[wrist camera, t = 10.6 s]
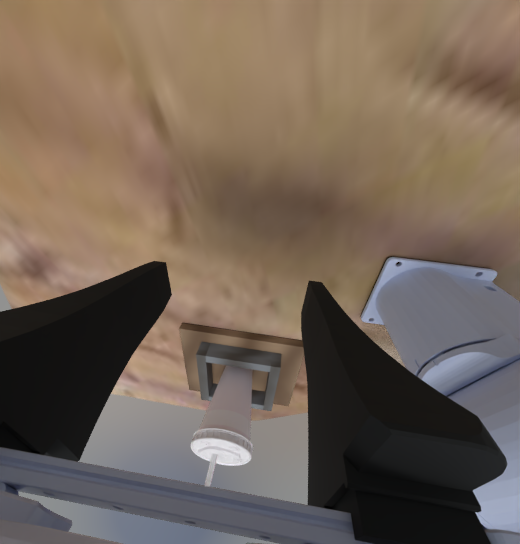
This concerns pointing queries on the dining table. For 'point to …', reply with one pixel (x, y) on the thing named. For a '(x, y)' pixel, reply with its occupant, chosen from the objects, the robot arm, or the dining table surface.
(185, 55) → the dining table surface
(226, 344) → the bottle stand
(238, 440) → the smoothie
